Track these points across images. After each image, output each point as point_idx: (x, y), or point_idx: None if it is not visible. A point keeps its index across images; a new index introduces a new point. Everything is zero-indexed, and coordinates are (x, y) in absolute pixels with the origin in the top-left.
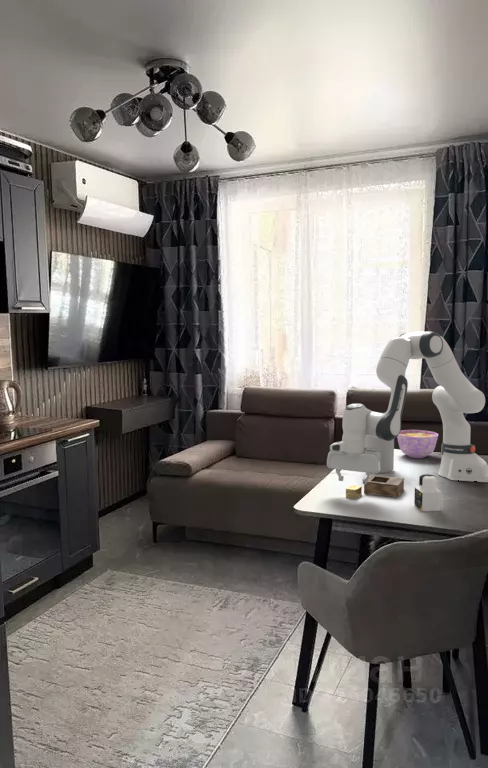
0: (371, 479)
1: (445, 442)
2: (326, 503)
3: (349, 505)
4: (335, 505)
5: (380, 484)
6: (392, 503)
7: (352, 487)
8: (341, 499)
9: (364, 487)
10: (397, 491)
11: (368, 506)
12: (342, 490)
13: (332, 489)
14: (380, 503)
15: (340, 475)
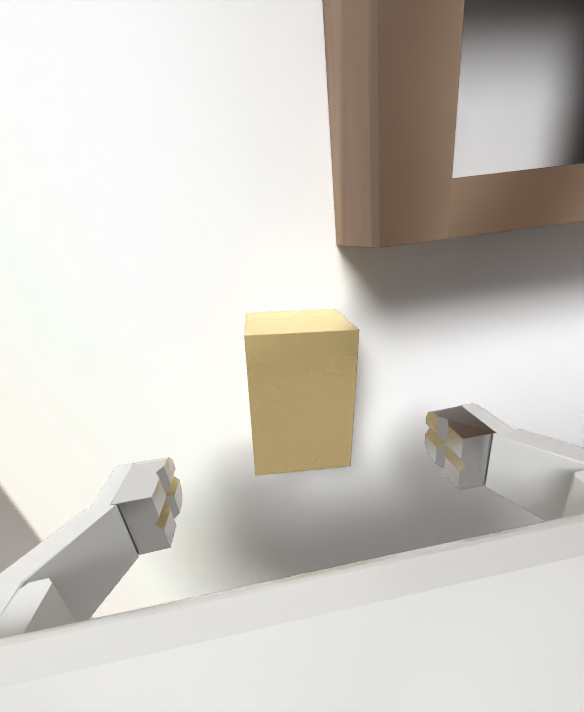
0: (454, 59)
1: None
2: (219, 580)
3: (345, 539)
4: (279, 576)
5: (574, 220)
6: (573, 378)
7: (292, 415)
8: (255, 484)
9: (357, 245)
10: None
11: (444, 499)
12: (128, 277)
13: (27, 300)
14: (501, 418)
15: (122, 545)
